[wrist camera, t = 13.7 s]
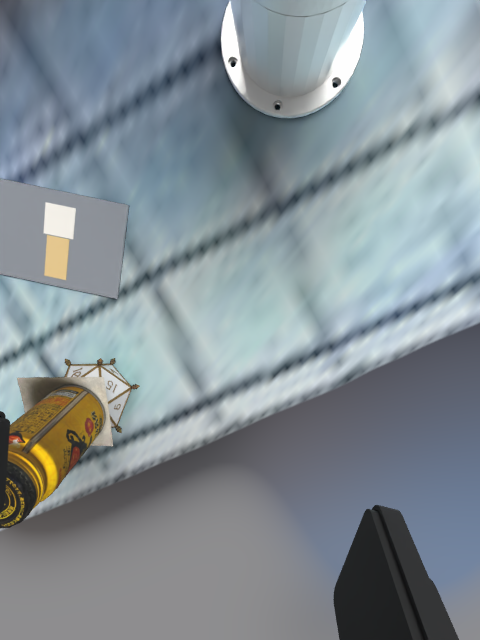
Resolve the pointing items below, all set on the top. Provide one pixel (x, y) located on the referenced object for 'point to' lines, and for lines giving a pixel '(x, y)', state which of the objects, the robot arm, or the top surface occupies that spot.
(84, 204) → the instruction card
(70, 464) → the condiment
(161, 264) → the top surface
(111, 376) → the game die
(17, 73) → the top surface
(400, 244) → the top surface
